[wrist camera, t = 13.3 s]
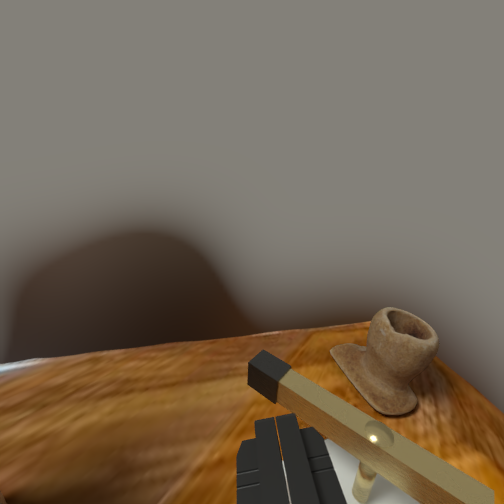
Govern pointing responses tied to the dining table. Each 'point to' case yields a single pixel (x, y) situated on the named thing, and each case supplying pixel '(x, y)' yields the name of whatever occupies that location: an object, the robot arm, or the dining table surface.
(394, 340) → the stone cup
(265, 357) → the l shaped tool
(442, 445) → the dining table surface
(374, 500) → the box
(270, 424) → the robot arm
